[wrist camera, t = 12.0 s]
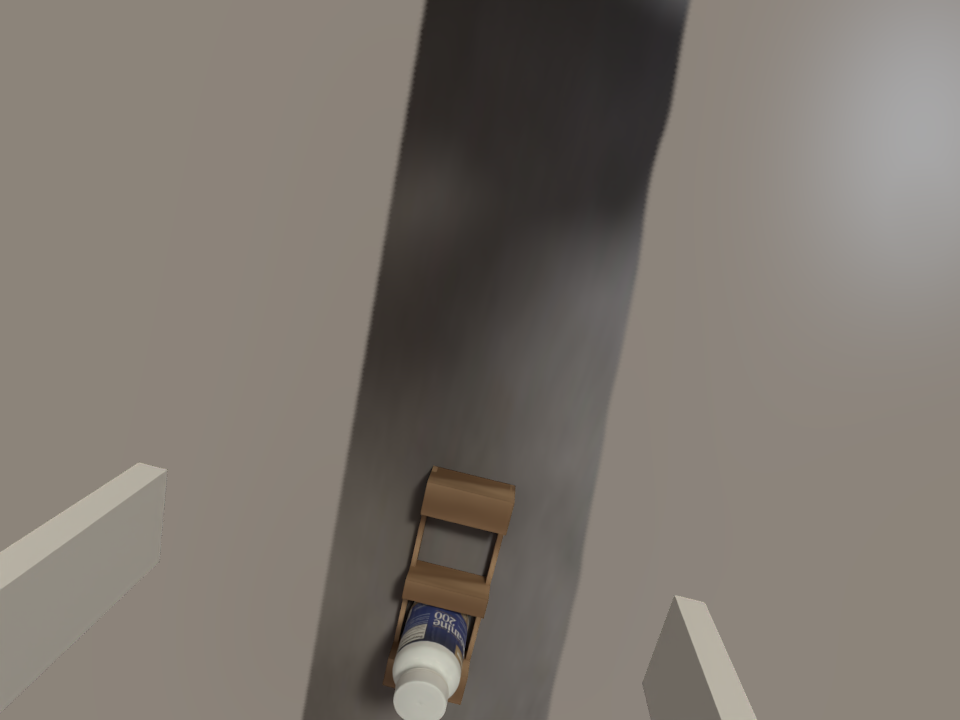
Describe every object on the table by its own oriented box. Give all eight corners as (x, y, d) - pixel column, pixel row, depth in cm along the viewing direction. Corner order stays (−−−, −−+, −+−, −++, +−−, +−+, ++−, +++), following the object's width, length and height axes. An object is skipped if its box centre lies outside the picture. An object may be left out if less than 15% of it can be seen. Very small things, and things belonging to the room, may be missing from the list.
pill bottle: (481, 622, 52) (470, 713, 43) (434, 649, 53) (414, 744, 44) (444, 578, 51) (425, 661, 42) (397, 607, 52) (368, 694, 43)
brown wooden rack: (433, 465, 49) (427, 481, 46) (515, 485, 48) (514, 503, 46) (390, 659, 54) (382, 685, 51) (464, 678, 54) (460, 704, 51)
